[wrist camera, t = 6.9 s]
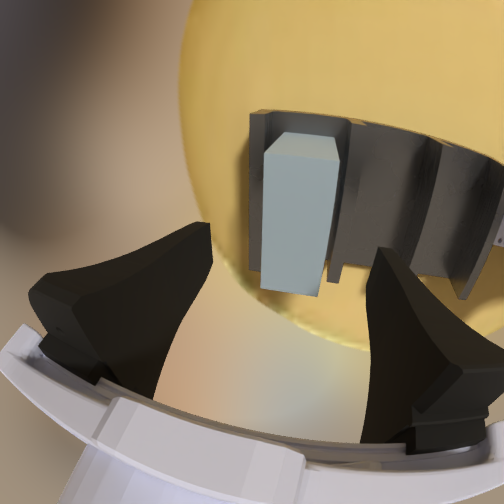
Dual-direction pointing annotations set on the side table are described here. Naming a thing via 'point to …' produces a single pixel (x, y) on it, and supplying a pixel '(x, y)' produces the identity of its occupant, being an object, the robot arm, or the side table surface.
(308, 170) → the light grey rectangular block
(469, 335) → the robot arm
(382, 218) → the rack
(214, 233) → the side table surface
